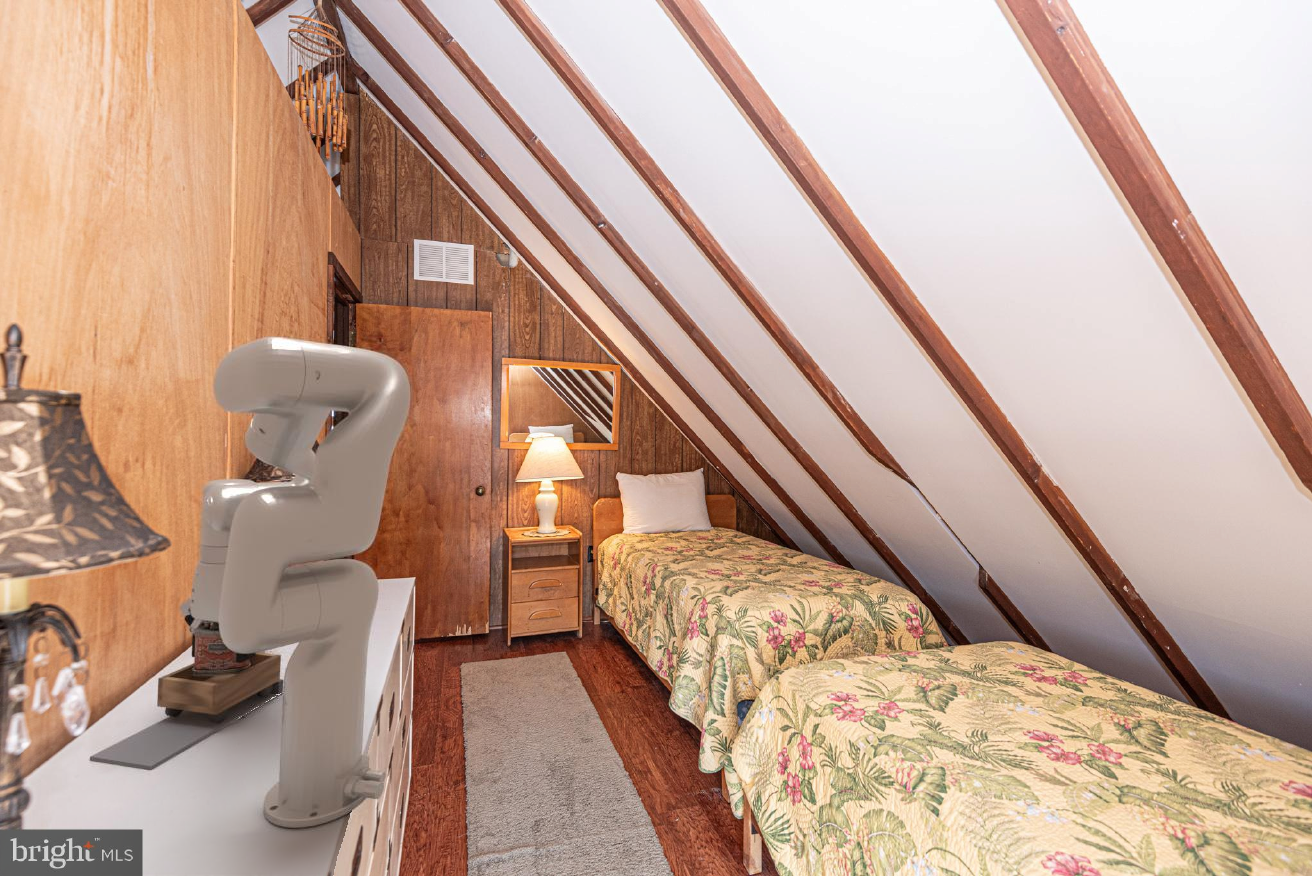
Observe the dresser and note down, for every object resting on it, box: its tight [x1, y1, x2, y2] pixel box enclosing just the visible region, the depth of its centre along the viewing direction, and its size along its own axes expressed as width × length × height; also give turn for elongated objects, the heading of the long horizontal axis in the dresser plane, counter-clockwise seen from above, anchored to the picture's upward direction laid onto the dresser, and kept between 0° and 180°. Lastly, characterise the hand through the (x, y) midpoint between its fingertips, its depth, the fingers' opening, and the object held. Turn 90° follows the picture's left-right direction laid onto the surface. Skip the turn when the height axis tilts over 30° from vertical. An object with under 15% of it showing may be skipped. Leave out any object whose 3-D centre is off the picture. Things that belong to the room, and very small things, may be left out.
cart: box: [156, 652, 282, 723], centre depth 96 cm, size 11×13×7 cm
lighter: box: [193, 620, 250, 676], centre depth 96 cm, size 8×3×10 cm, turn 107°
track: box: [89, 678, 284, 771], centre depth 92 cm, size 10×24×2 cm, turn 172°
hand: (223, 656), depth 96 cm, fingers closed on lighter, 7 cm apart
